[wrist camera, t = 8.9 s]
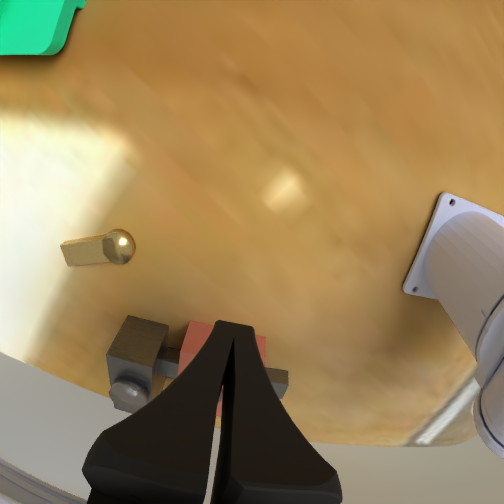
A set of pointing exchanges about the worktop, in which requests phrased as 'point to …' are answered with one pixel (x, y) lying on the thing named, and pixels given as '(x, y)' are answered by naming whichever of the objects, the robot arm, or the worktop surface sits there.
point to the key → (100, 249)
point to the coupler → (151, 365)
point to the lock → (194, 343)
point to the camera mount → (35, 25)
